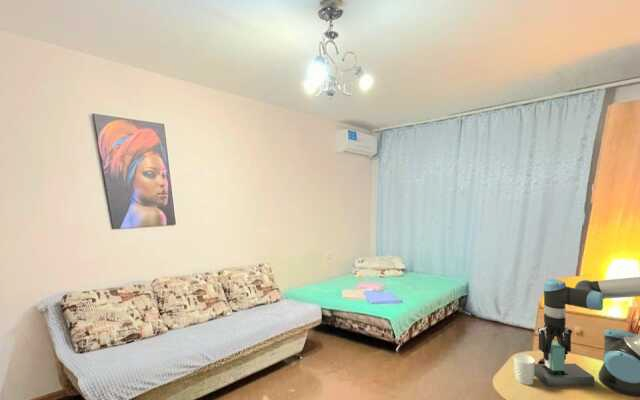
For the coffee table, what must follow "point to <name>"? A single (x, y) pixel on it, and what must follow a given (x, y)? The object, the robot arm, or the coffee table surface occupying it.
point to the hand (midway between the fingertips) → (554, 366)
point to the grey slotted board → (563, 376)
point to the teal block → (557, 357)
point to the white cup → (524, 368)
